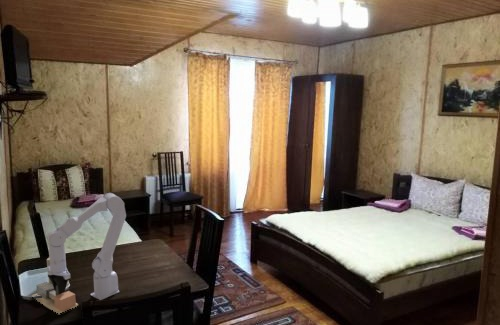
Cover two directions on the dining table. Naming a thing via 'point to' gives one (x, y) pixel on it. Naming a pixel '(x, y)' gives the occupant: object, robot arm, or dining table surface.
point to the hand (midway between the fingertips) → (59, 291)
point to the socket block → (64, 300)
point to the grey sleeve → (44, 289)
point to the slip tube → (53, 292)
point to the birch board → (51, 304)
